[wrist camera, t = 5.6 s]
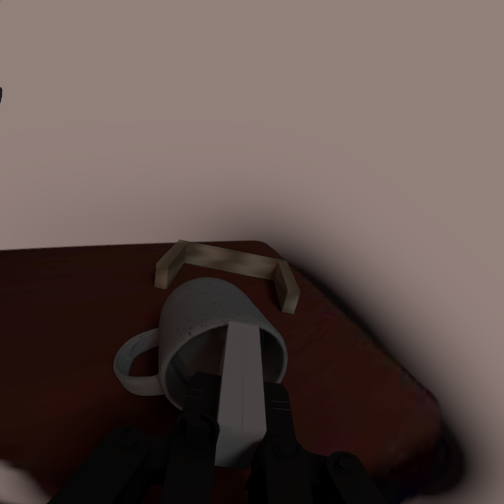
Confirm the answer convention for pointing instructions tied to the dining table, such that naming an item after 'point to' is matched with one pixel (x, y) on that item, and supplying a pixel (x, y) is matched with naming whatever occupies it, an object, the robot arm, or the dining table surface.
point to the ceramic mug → (197, 339)
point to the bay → (229, 268)
